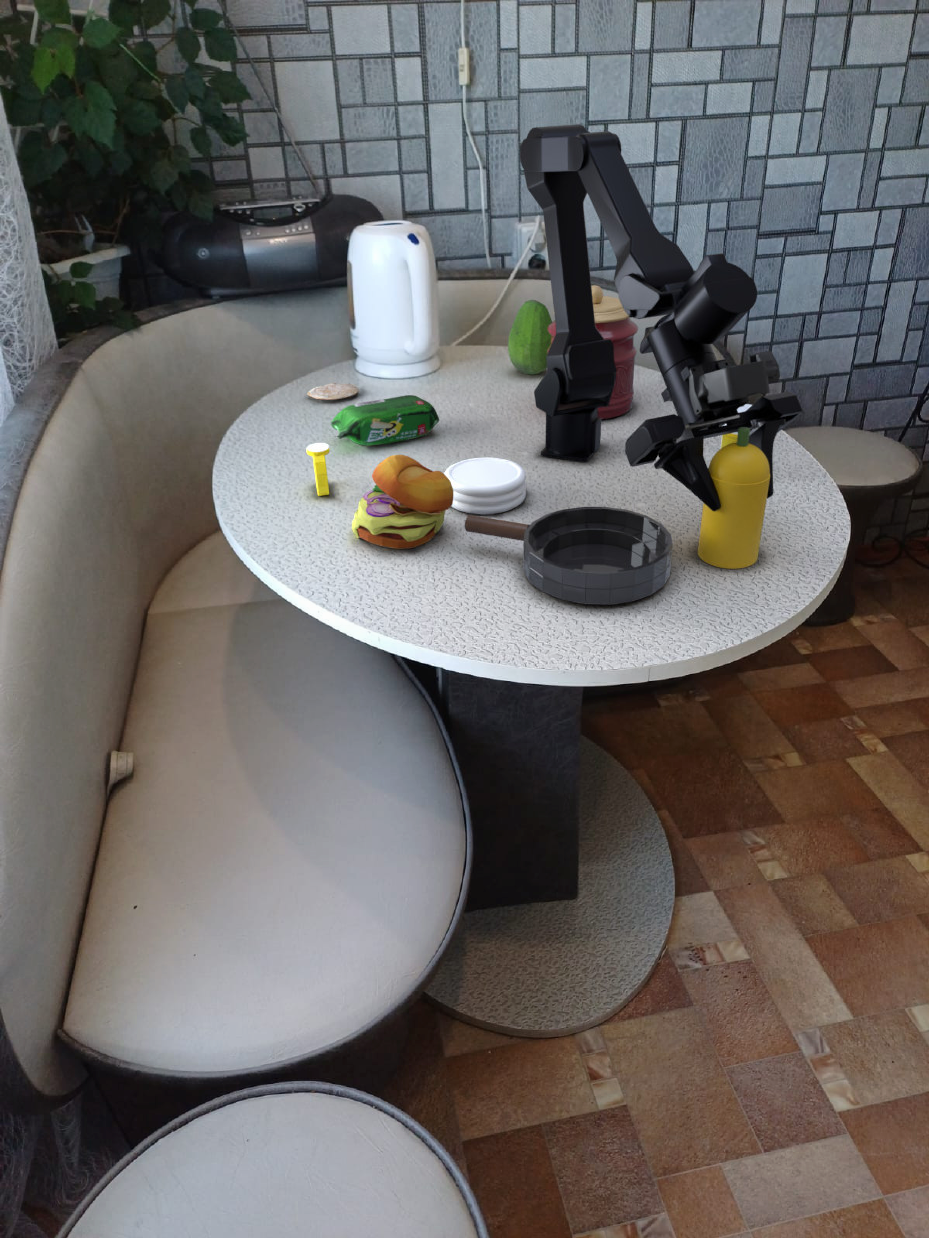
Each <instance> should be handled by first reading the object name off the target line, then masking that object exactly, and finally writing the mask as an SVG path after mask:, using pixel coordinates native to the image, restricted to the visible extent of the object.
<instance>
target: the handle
mask: <svg viewBox="0 0 929 1238" xmlns="http://www.w3.org/2000/svg"><path fill="white" fill-rule="evenodd" d="M529 526H530V524H529V523H521V522H517V521H509V520H503V519H497V518H492V517H485V516H480V515H479V516H478V515H474V514H473V515H472V514H469V515H467V516H466V518H465V520H464V530H465V531H466V532H467V533H473V534H480V535H485V536H492V537H498V538H502V539H510V540H516V541H520V542H521V541H522V542H524V532H525V530H526V529H527V528H528V527H529Z"/></svg>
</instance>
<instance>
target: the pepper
mask: <svg viewBox="0 0 929 1238" xmlns="http://www.w3.org/2000/svg"><path fill="white" fill-rule="evenodd" d="M749 434H750V429H749V428H747V427H741V428H739V430H738V438H737V442H736V443H731V444H728V445H726V446H724V447H723V448H721V449H720V448H719V450H717V451H716V452H715V453H714V455H713V456H712V458H711V460H710V462H709V465H708V470H709V472H710V475H711V477H712V480H713V482H714V485H715V488H716V490H717V493H718V496H719V500H720V504H721V508H720V509H719V510H717V511H712V510H711V509H710V508H709V507H708V506H706V505H705V504H704V503H703V502H702V512H701V522H700V531H699V539H698V548H697V555H698V557H699V559H700V560H702V561H703V562H705V563H706V564H708V565H710V566H713V567H716V568H721V569H729V570H730V569H731V570H737V569H744V568H745V569H746V568H748V567H750V566H753V565H754V564H756V562H757V561H758V558H759V551H760V546H761V539H762V532H763V527H764V520H765V519H764V518H765V513H766V506H767V494H768V487H769V481H770V468H769V463H768V460H767V458H766V456H765V454H764V453H763V452H762V451H761V450H760V449H759V448H758V447H756V446H754V445H752V444H749V443H748V442H749Z"/></svg>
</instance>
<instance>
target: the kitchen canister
mask: <svg viewBox="0 0 929 1238" xmlns="http://www.w3.org/2000/svg"><path fill="white" fill-rule="evenodd" d="M591 287H592V297H593V307H594V317H595V325H596V328H597V330H598V331H599V332H600V334H601V335H602V336H603V338H604V339H605V340H607V339H610V340H611V341H612V343H613V345H614V361H615V366H616V369H617V372H616V381H615V385H614V388H613V392H612V395H611V399H610V402H609V406H607V407H598V417H600V418H601V420H607V419H612V418H616V417H620V416H622V415H624V414H626V413H628V412H629V411H630V410H631V408H632V405H633V404H632V403H633V401H634V394H635V390H634V375H635V362H636V355H637V348H636V347H635V345H634V341H635V340H634V339H635V338H634V336H635V335H636V334H637V333H638V331H639V327H638V324H636V322H634V321H633V320H631V318H630V317H629V316H628V315H627V314H626V312H625V311H624V309H623V306H622V305H621V303H620V299H619V298H617V297H612V296H607V295H604V292H603V289H602V288H601V286H599V285H595V284H594V285H592V284H591ZM547 329H548V332H549V334H550V335H551V344H552V342H553V340H554V337H555V335H556V324H555V320H554V321H553V320H552V323H551V324H550V325H549V326H548V328H547ZM550 347H551V345H550ZM550 347H549V348H548V350H547V354H548V351H549V349H550Z"/></svg>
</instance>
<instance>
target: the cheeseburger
mask: <svg viewBox="0 0 929 1238" xmlns="http://www.w3.org/2000/svg"><path fill="white" fill-rule="evenodd" d="M444 473H445V472H442V471H441V470H432V469H429V468H428V467H426V466H424V465H423V464H422V463H420V462H419V461H417V460H416V459H415V458H413V457H410V456H408V455H404V454H393V455H389V456H388V457H386V458H384V459H383V460H382V461H381V462H379V463H378V464H377V466H376V467H375V468H374V469H373V471H372V474H371V478H372V481H373V482H374V484H375V485H374V487H373V489H371V490H368V491H367V492H365V493H364V495H362V497H361V499H360V500H359V502H358V508H357V509H356V511H355V512H354V514H353V515H354V518H353V519H352V522H351V531H352V533H353V534H354V536H355V537H356V539H358V540H359V539H362V540H364V541H366V542H367V543H369V544H373V545H377V546H380V547H385V548H390V549H395V550H401V549H414V548H416V547H418V546H421V545H424V544H426V543H428V542H429V541H431V540H432V539H433V538H435V536H436V534H437V533H439V531H440V530H441V529H442V526H443V524H444V522H445V514H446V511H447V510H449V509H450V508H452V507H451V506H452V504H453V488H452V484H451V481H450V480H449V479H448V477H447V476H446V475H445V474H444Z"/></svg>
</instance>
